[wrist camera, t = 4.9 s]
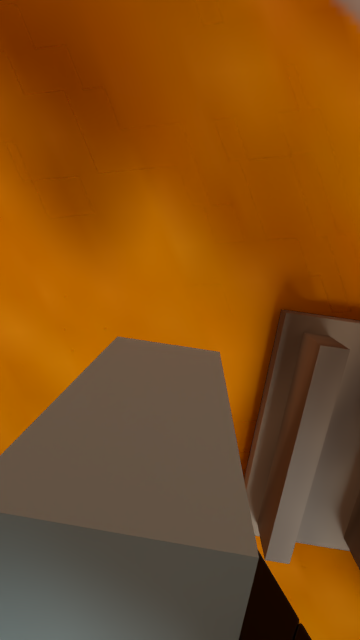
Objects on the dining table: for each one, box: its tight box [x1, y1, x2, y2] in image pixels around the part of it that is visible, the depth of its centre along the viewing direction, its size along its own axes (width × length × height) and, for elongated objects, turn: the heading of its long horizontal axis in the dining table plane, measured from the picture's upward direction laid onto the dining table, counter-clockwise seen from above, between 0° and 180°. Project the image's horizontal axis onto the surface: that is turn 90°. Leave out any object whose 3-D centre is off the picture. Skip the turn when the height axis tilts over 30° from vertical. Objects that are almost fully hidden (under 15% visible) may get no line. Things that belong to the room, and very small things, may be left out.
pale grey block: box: [0, 337, 259, 640], centre depth 7 cm, size 3×7×6 cm, turn 172°
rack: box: [244, 310, 360, 569], centre depth 18 cm, size 10×16×4 cm, turn 172°
